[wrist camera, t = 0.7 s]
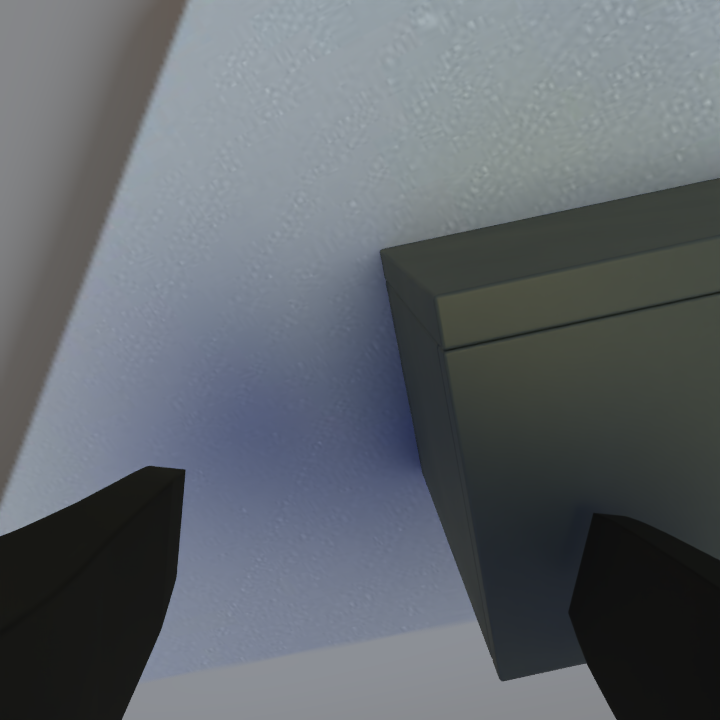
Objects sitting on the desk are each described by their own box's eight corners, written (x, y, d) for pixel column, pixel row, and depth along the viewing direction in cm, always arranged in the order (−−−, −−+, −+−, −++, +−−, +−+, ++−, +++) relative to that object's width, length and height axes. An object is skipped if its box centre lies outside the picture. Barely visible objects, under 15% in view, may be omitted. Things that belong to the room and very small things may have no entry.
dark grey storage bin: (753, 403, 23) (1079, 557, 13) (422, 474, 22) (500, 683, 13) (743, 172, 20) (1120, 149, 11) (379, 249, 20) (432, 295, 11)
